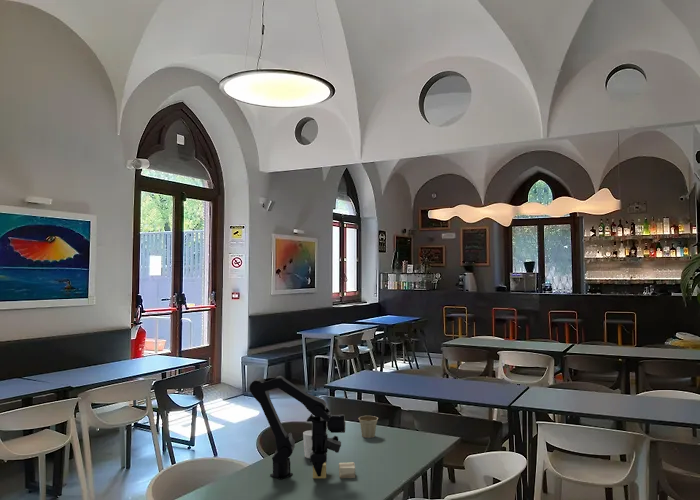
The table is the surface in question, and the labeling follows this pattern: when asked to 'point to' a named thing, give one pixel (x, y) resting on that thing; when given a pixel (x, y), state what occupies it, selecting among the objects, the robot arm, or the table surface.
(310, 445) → the white cup
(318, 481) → the table surface
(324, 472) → the ochre block
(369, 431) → the flower pot
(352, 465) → the birch base block
